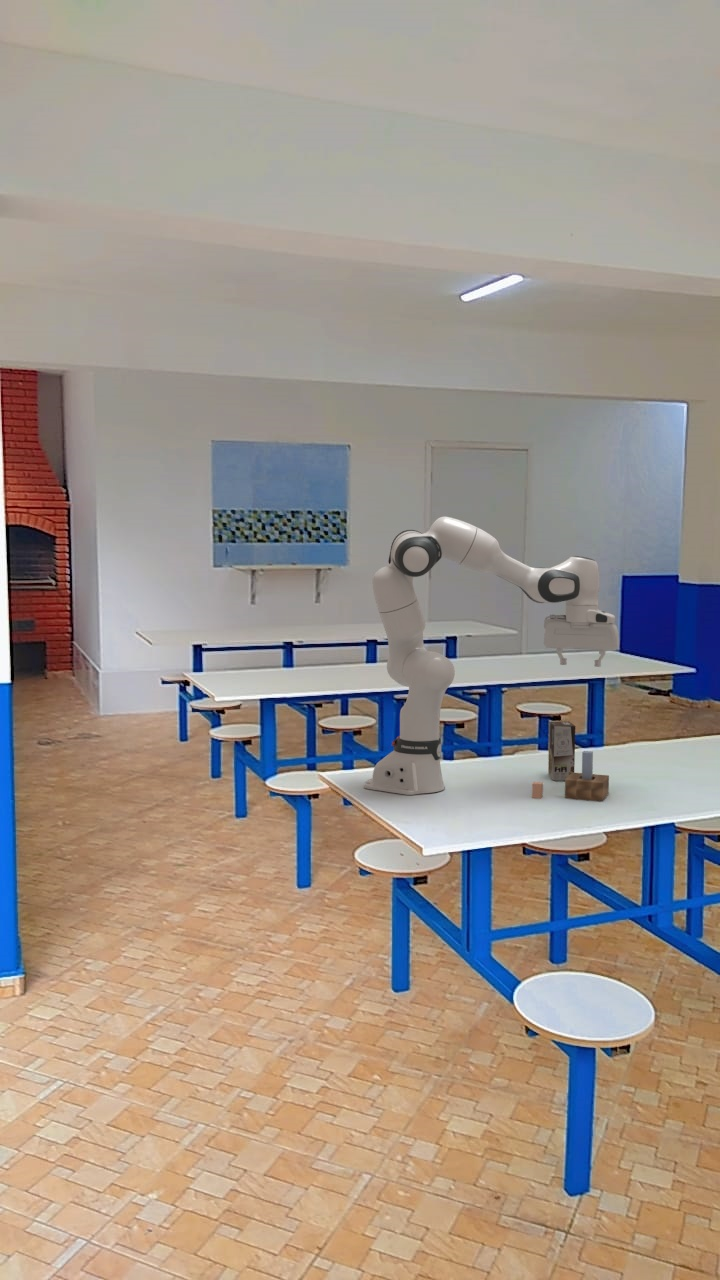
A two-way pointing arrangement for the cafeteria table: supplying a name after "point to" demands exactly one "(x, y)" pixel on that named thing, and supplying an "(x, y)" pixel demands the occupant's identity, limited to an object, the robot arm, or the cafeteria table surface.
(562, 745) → the coffee box
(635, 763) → the cafeteria table surface
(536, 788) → the short peg
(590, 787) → the hole block
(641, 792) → the cafeteria table surface
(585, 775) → the long peg
